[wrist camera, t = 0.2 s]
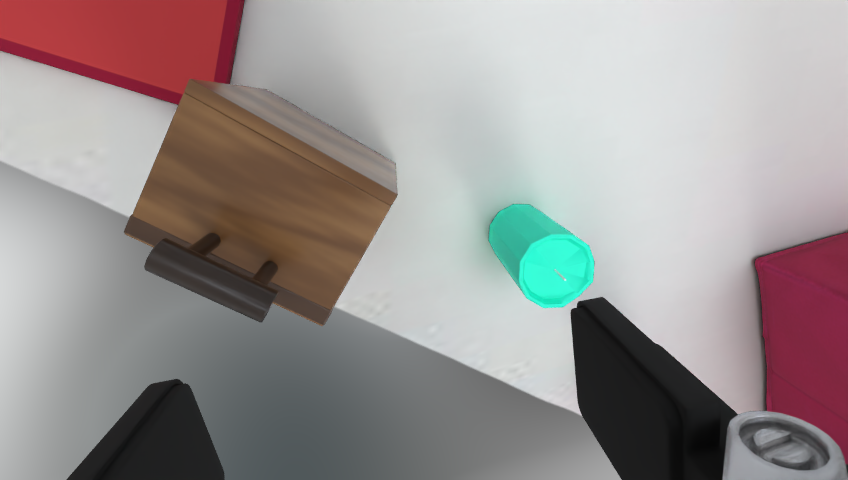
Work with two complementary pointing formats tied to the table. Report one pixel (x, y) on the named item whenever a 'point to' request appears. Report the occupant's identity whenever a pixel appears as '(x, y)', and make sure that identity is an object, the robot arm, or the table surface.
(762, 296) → the storage bin
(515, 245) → the candle
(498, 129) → the table surface
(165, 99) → the red board with handle
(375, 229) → the wooden drawer
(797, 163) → the table surface
